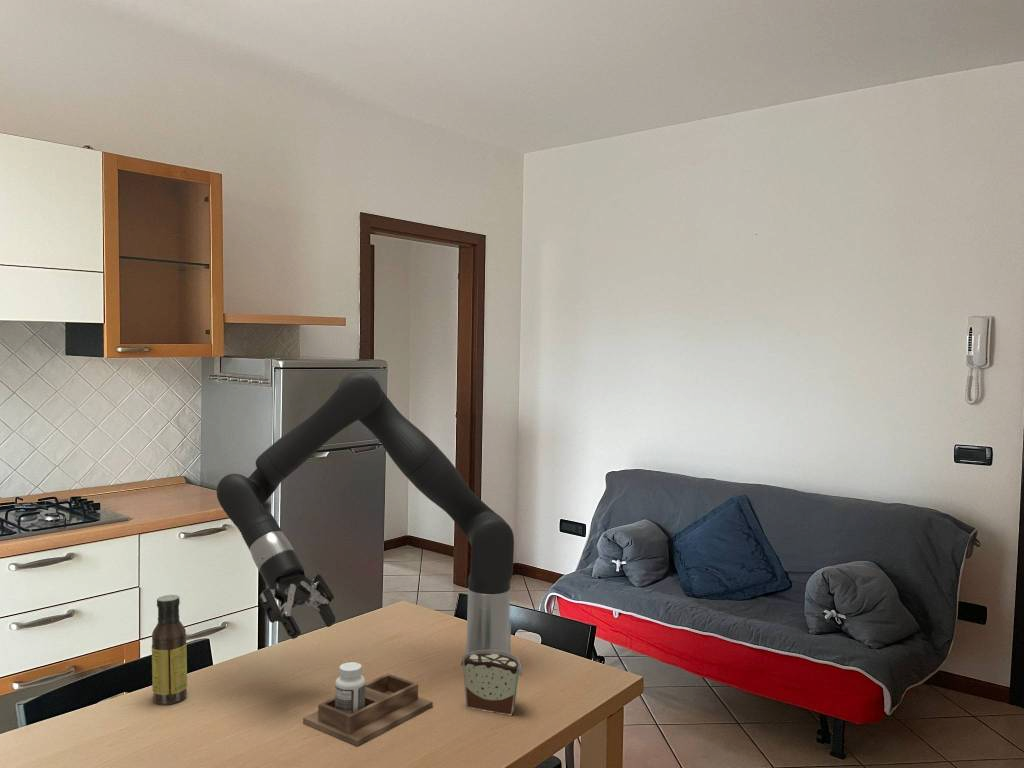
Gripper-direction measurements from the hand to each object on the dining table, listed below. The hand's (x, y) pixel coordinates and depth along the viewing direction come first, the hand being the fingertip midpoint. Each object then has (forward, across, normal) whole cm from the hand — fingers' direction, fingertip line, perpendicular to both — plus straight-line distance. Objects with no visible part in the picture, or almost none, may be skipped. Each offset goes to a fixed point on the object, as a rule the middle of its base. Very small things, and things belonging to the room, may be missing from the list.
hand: (314, 630), depth 152 cm
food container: (+29, +23, -7) cm, 38 cm away
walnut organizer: (+18, +5, +4) cm, 19 cm away
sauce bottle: (-7, -14, +29) cm, 33 cm away
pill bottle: (+17, 0, +3) cm, 17 cm away
